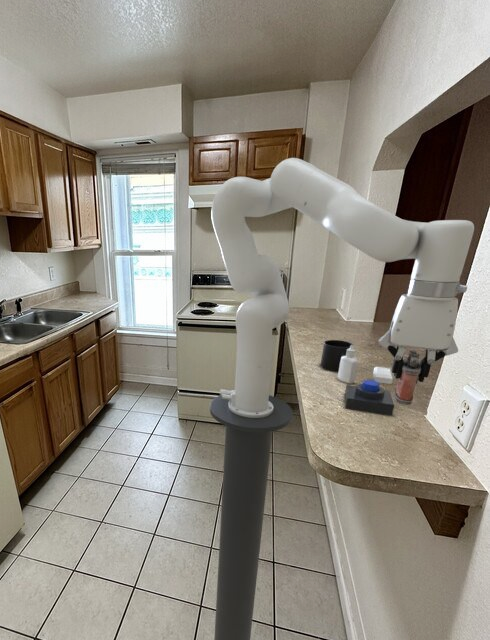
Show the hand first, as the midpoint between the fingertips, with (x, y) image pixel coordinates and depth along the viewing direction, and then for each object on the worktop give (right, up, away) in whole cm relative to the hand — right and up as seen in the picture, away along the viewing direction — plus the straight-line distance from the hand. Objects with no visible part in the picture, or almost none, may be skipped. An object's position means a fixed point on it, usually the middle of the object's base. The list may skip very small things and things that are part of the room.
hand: (408, 377), depth 74 cm
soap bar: (+21, -1, +43) cm, 48 cm away
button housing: (+6, -8, +25) cm, 27 cm away
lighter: (0, -5, +2) cm, 5 cm away
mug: (+10, +2, +52) cm, 53 cm away
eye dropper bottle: (+8, -2, +41) cm, 42 cm away
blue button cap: (+6, -4, +23) cm, 24 cm away
